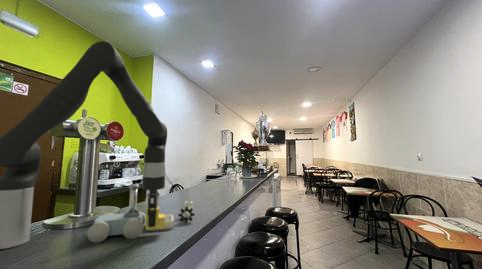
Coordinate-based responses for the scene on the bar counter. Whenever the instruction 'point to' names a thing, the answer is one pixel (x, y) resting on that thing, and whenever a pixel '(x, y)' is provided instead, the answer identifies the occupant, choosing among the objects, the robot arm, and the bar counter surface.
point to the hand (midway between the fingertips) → (152, 223)
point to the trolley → (117, 226)
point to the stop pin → (133, 198)
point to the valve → (187, 212)
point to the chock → (159, 219)
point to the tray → (166, 223)
